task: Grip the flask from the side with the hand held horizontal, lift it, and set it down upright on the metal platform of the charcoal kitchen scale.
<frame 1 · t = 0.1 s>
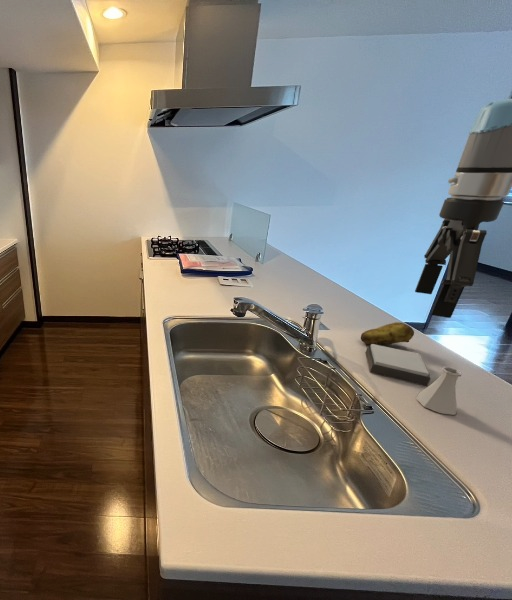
hand: (430, 303, 67), 27 cm above the worktop, tool pointing down, fingers open, 13 cm apart
flask: (435, 405, 77), on the worktop
scale: (393, 367, 90), on the worktop
potato: (382, 345, 102), on the worktop
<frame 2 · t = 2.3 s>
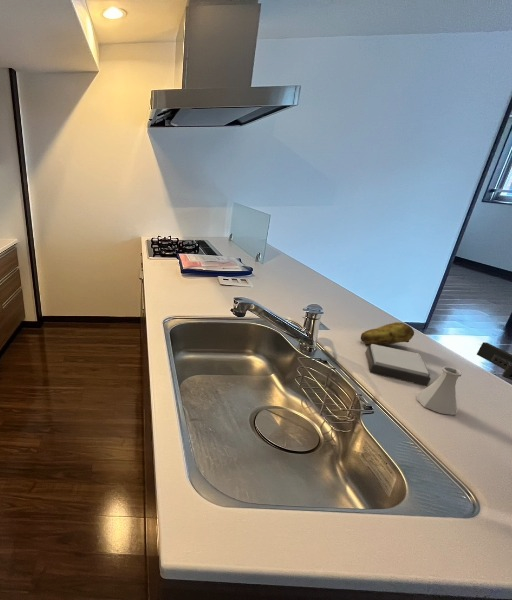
nothing on the worktop moved.
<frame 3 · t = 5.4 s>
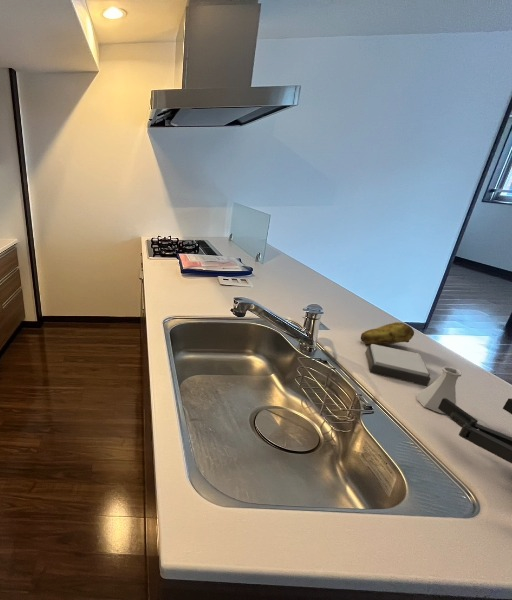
hand: (474, 403, 68), 6 cm above the worktop, tool horizontal, fingers open, 13 cm apart
nothing on the worktop moved.
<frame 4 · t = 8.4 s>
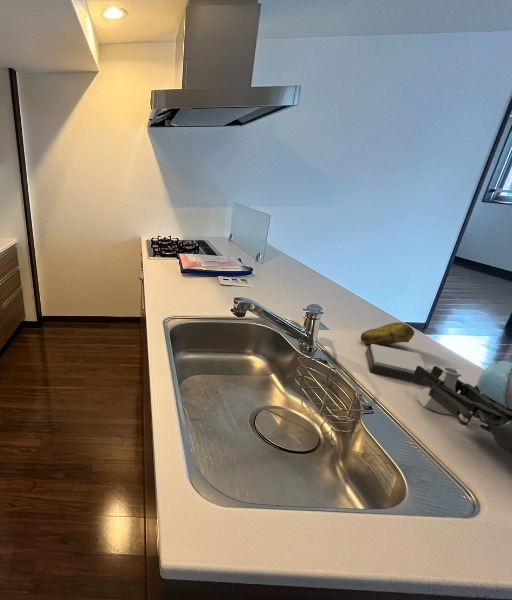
hand: (425, 370, 79), 6 cm above the worktop, tool horizontal, fingers closed on flask, 3 cm apart
flask: (435, 405, 77), on the worktop, touching gripper
everything else where it was.
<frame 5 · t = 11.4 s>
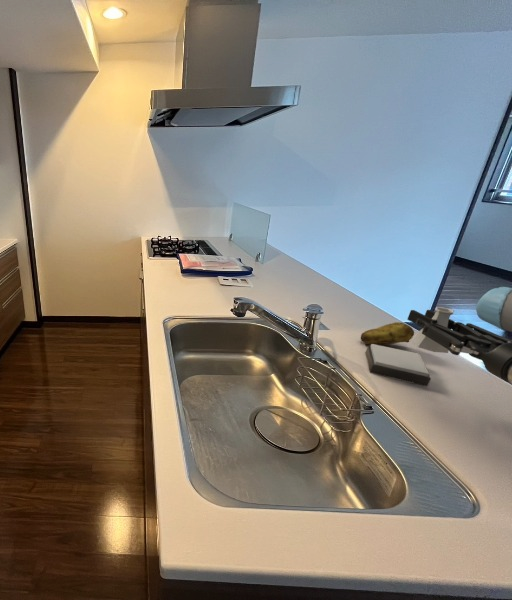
hand: (418, 314, 82), 18 cm above the worktop, tool horizontal, fingers closed on flask, 3 cm apart
flask: (428, 346, 79), point 12 cm above the worktop, touching gripper
everything else where it was.
when the fingers open (9 cm above the worktop, at t = 14.9 s): flask stays where it is, resting on scale.
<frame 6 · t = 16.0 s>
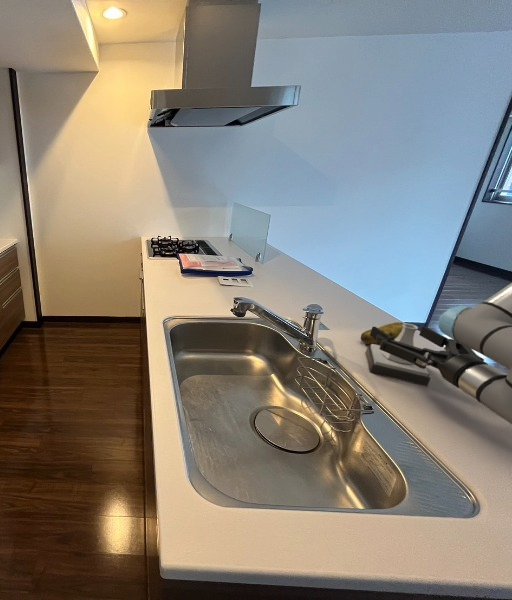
hand: (397, 330, 89), 10 cm above the worktop, tool horizontal, fingers open, 13 cm apart
flask: (397, 358, 89), point 3 cm above the worktop, touching scale
everything else where it was.
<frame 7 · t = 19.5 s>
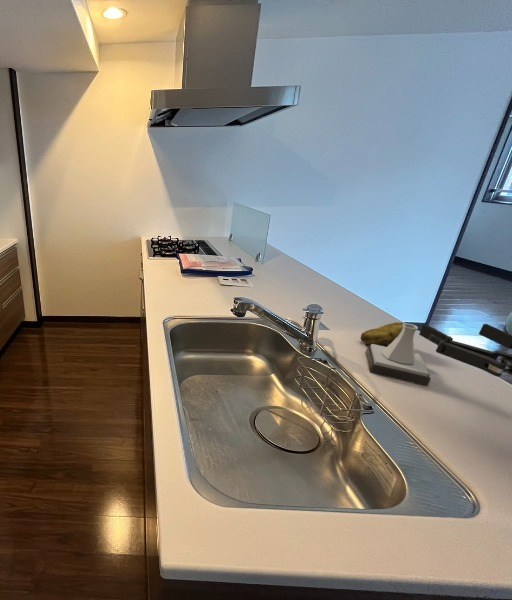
hand: (452, 329, 74), 18 cm above the worktop, tool horizontal, fingers open, 13 cm apart
nothing on the worktop moved.
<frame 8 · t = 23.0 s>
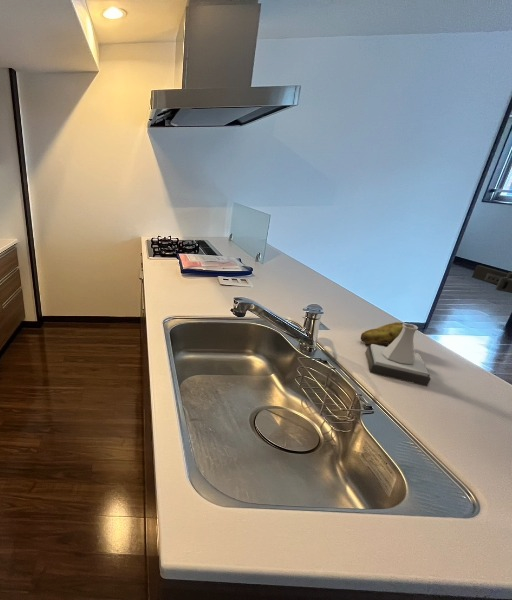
hand: (508, 271, 69), 32 cm above the worktop, tool horizontal, fingers open, 13 cm apart
nothing on the worktop moved.
at the end: flask inside the target area on the scale (0.0 cm from its centre), point 3.3 cm above the scale's base; flask tilted 0°; the gripper is holding nothing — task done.
